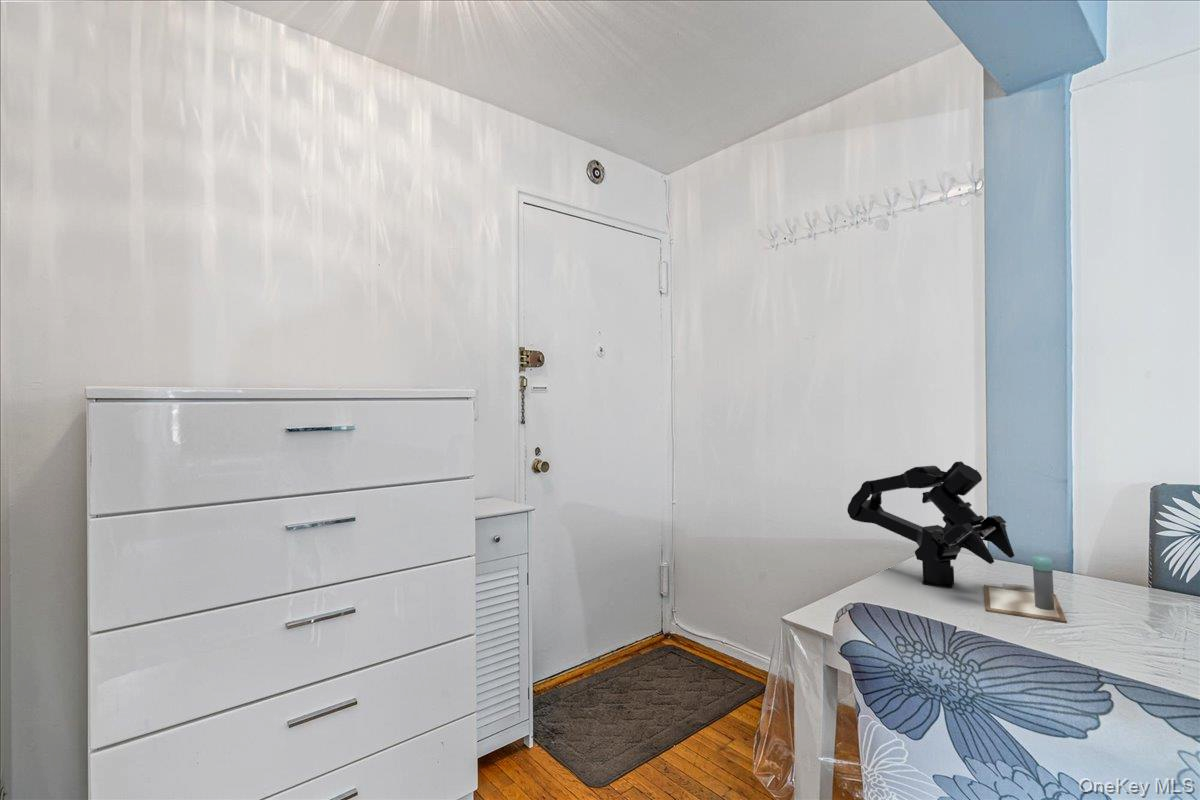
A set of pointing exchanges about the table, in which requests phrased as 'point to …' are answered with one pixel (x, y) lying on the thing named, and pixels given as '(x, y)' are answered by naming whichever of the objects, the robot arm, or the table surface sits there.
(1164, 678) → the table surface
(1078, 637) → the table surface
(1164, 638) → the table surface
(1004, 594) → the clipboard
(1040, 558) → the marker
